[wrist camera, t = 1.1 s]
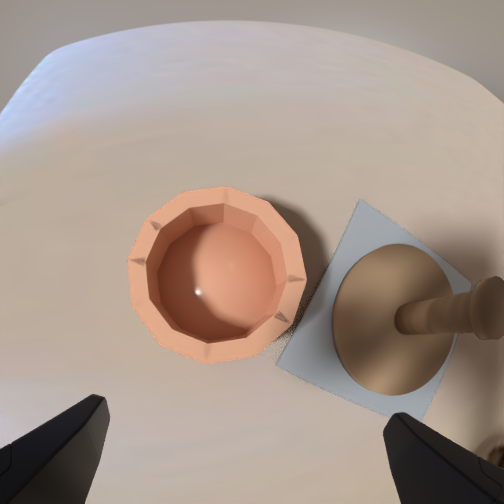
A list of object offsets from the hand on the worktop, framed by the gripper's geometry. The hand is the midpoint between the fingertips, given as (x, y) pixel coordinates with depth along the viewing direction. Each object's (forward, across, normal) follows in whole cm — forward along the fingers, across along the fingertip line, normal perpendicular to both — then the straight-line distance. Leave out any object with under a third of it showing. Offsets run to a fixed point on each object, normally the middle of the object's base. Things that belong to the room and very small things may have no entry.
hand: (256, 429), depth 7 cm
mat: (+14, -14, +3) cm, 20 cm away
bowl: (+15, +2, +1) cm, 15 cm away
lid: (+14, -14, +3) cm, 20 cm away
